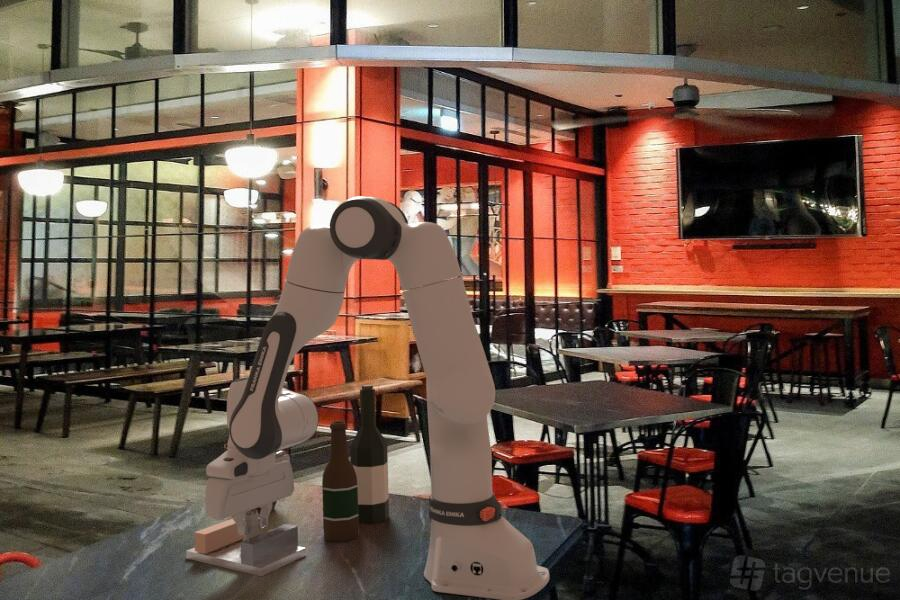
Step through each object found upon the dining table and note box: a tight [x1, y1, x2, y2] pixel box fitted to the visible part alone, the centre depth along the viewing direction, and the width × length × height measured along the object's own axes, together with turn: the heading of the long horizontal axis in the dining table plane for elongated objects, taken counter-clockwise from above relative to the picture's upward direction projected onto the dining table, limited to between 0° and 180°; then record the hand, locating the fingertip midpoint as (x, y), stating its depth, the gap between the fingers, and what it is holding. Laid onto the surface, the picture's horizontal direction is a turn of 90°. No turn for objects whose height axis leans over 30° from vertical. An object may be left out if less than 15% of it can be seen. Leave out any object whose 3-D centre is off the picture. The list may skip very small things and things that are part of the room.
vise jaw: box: [194, 517, 245, 554], centre depth 149 cm, size 3×12×4 cm, turn 149°
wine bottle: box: [349, 384, 390, 525], centre depth 169 cm, size 8×8×30 cm
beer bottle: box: [321, 420, 360, 543], centre depth 157 cm, size 8×8×24 cm
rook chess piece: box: [240, 509, 260, 551], centre depth 144 cm, size 4×4×8 cm
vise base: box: [185, 523, 307, 577], centre depth 146 cm, size 20×12×6 cm, turn 59°
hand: (253, 530), depth 145 cm, fingers open, 3 cm apart
